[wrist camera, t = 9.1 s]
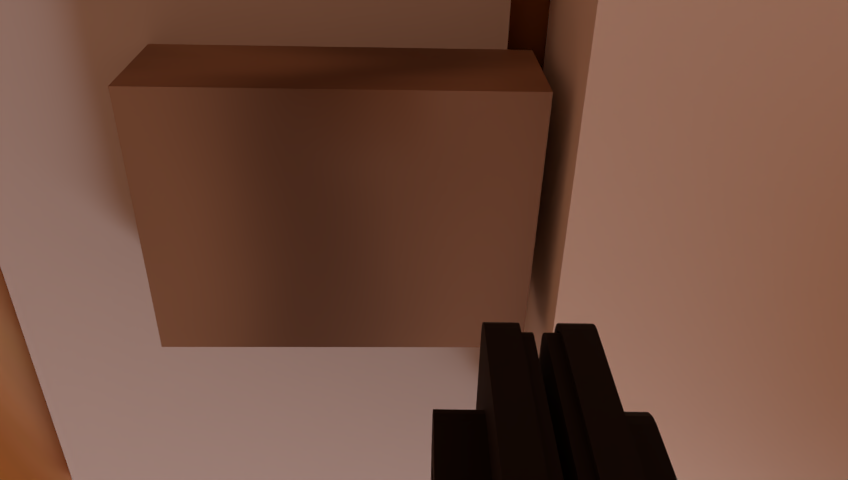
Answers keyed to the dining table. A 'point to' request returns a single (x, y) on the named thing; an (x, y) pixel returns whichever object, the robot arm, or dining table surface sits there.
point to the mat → (126, 274)
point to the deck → (705, 222)
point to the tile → (333, 191)
